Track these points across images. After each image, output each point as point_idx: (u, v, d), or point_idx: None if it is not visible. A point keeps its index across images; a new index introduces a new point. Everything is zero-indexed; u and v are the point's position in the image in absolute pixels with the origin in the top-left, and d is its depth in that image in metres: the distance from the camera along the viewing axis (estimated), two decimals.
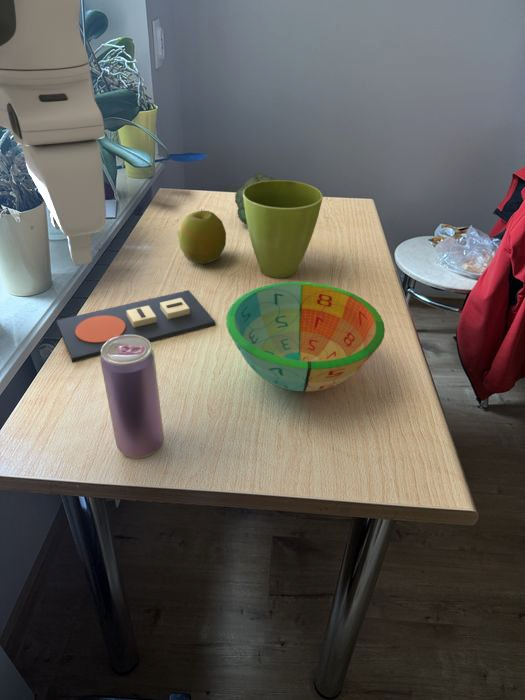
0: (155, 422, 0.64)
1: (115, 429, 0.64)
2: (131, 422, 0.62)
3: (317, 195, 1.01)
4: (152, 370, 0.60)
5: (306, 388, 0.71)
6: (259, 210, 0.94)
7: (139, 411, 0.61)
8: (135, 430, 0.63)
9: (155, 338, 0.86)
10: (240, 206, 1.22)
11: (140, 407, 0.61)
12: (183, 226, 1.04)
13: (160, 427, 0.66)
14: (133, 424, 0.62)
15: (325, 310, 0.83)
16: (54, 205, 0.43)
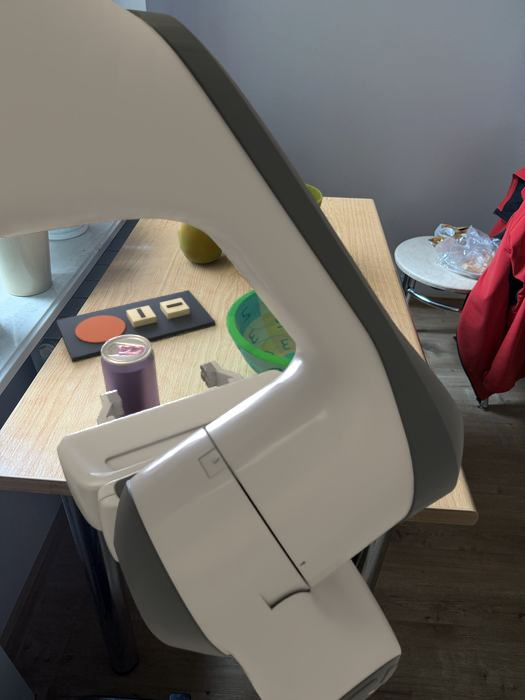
0: None
1: None
2: None
3: (317, 195, 1.01)
4: (152, 369, 0.60)
5: None
6: None
7: (139, 410, 0.61)
8: None
9: (155, 338, 0.86)
10: None
11: (140, 407, 0.61)
12: (183, 226, 1.04)
13: None
14: None
15: None
16: (66, 459, 0.38)
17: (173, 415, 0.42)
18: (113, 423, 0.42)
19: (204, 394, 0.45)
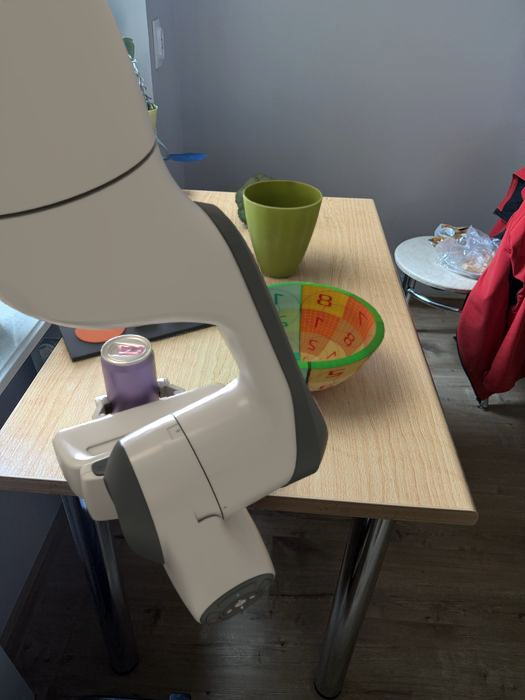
0: None
1: None
2: None
3: (317, 195, 1.01)
4: (152, 369, 0.60)
5: None
6: (259, 210, 0.94)
7: None
8: None
9: (155, 338, 0.86)
10: (240, 206, 1.22)
11: None
12: None
13: None
14: None
15: (325, 310, 0.83)
16: (58, 447, 0.54)
17: (137, 416, 0.58)
18: (93, 422, 0.57)
19: (162, 401, 0.60)
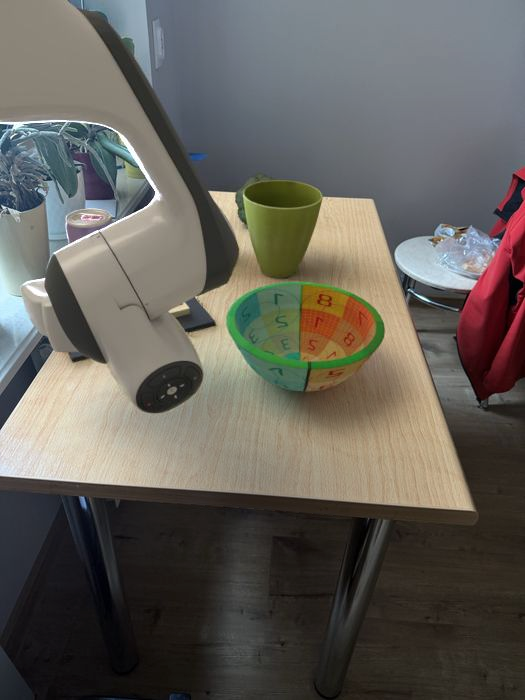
0: None
1: None
2: None
3: (317, 195, 1.01)
4: None
5: (306, 388, 0.71)
6: (259, 210, 0.94)
7: None
8: None
9: None
10: (240, 206, 1.22)
11: None
12: None
13: None
14: None
15: (325, 310, 0.83)
16: (25, 290, 0.61)
17: None
18: None
19: None
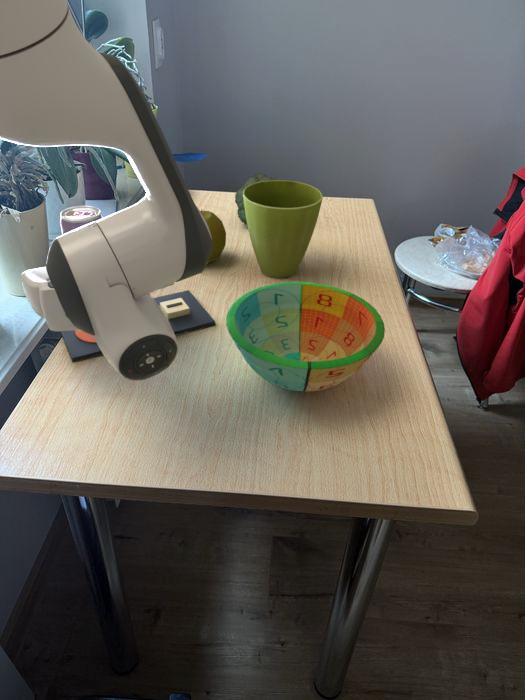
0: None
1: None
2: None
3: (317, 195, 1.01)
4: None
5: (306, 388, 0.71)
6: (259, 210, 0.94)
7: None
8: None
9: None
10: (240, 206, 1.22)
11: None
12: None
13: None
14: None
15: (325, 310, 0.83)
16: (24, 277, 0.70)
17: None
18: None
19: None
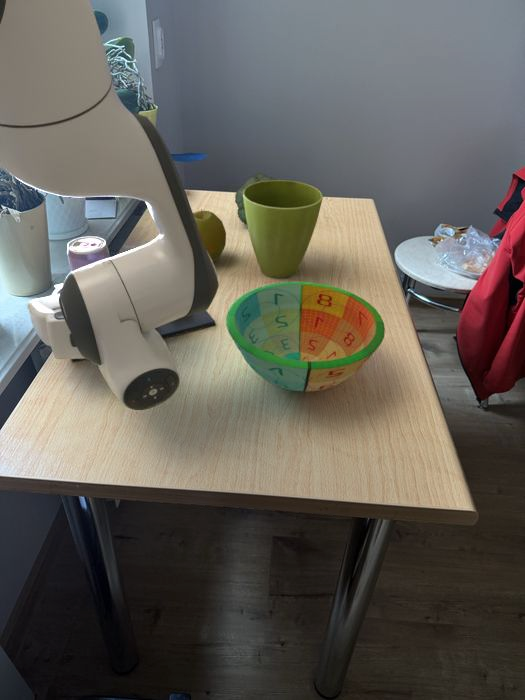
0: None
1: None
2: None
3: (317, 195, 1.01)
4: None
5: (306, 388, 0.71)
6: (259, 210, 0.94)
7: None
8: None
9: None
10: (240, 206, 1.22)
11: None
12: None
13: None
14: None
15: (325, 310, 0.83)
16: (31, 307, 0.73)
17: None
18: (58, 295, 0.76)
19: None
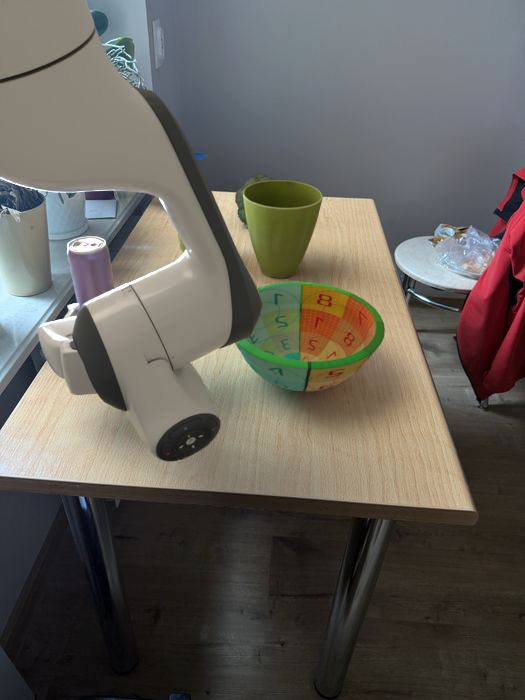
0: None
1: None
2: None
3: (317, 195, 1.01)
4: (106, 260, 0.79)
5: (306, 388, 0.71)
6: (259, 210, 0.94)
7: (97, 293, 0.80)
8: None
9: None
10: (240, 206, 1.22)
11: (98, 291, 0.80)
12: None
13: None
14: None
15: (325, 310, 0.83)
16: (42, 333, 0.62)
17: None
18: (73, 318, 0.66)
19: None
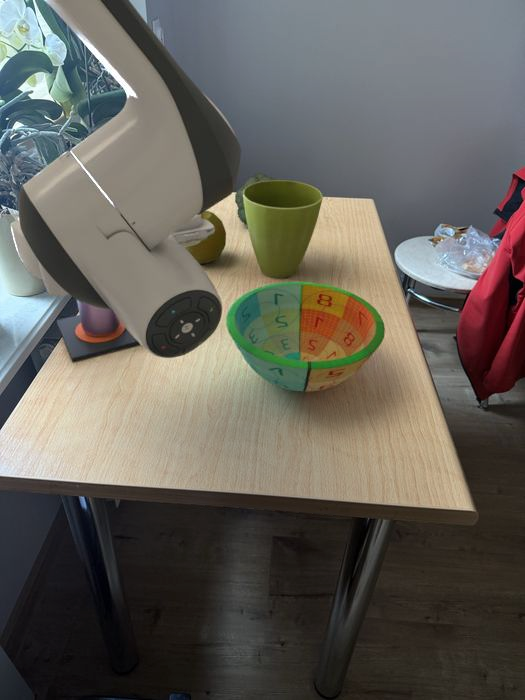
0: None
1: (80, 312, 0.83)
2: None
3: (317, 195, 1.01)
4: None
5: (306, 388, 0.71)
6: (259, 210, 0.94)
7: None
8: (95, 311, 0.82)
9: None
10: (240, 206, 1.22)
11: None
12: None
13: None
14: (93, 306, 0.81)
15: (325, 310, 0.83)
16: (16, 226, 0.54)
17: None
18: None
19: None
